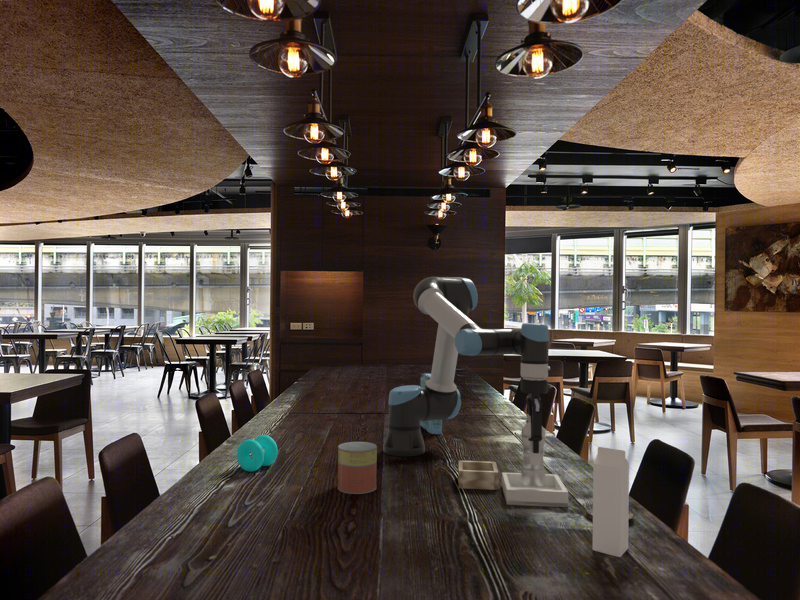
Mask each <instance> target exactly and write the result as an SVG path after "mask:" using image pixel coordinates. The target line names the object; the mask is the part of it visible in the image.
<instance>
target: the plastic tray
mask: <svg viewBox="0 0 800 600" xmlns="http://www.w3.org/2000/svg"><path fill="white" fill-rule="evenodd" d="M545 476H546V478H545V483H544V484H543V485H542V486H528V485H525V484H524V483H523V482H522V478H521V472H501V488H502V492H503V495H504V499H505V502H506V505H508V506H509V505H510V506H527V507H530V506H533V507H550V508H552V507H553V508H569V491H568V490H567V488H566V486H565V485H564V483H563V481H562V480H561V478H560V477H559V475H558V474H551V473H550V474H549V473H548V474H547V473H545Z"/></svg>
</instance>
